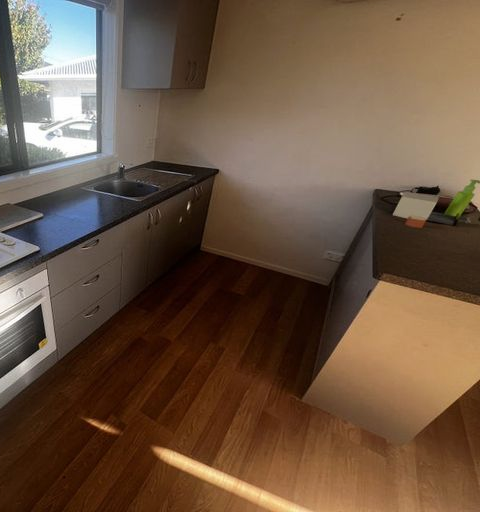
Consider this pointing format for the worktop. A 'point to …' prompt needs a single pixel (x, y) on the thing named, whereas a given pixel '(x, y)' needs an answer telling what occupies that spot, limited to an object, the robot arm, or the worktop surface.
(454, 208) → the soap dispenser
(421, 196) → the cream box
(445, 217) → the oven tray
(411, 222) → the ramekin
